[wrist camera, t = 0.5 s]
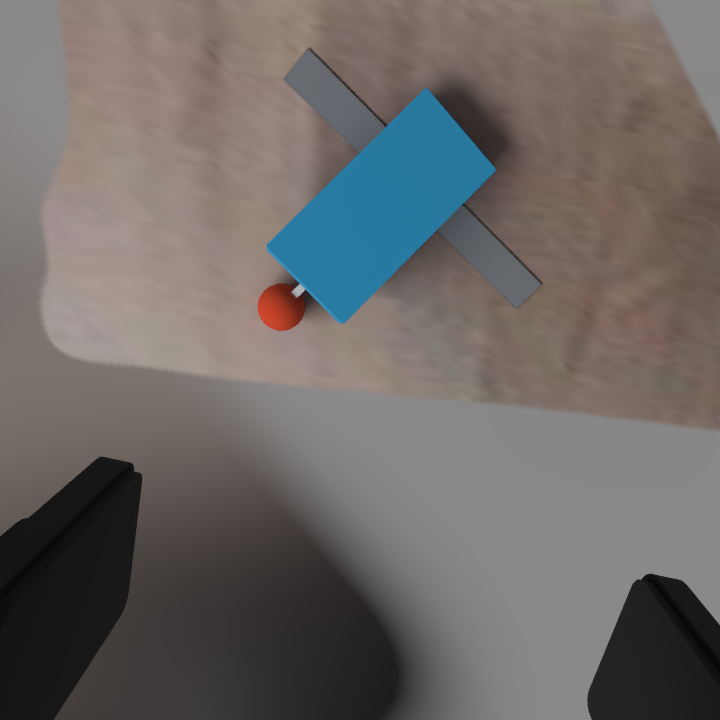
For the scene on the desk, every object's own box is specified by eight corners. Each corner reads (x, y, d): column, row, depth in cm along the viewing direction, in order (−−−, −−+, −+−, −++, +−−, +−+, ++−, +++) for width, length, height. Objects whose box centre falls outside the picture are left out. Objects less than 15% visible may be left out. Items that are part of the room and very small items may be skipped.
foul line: (283, 79, 37) (283, 78, 37) (308, 48, 36) (307, 48, 36) (516, 308, 41) (516, 308, 41) (541, 284, 40) (541, 284, 40)
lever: (400, 123, 41) (231, 290, 41) (426, 87, 35) (223, 287, 34) (460, 191, 43) (297, 354, 42) (496, 169, 36) (302, 364, 35)
